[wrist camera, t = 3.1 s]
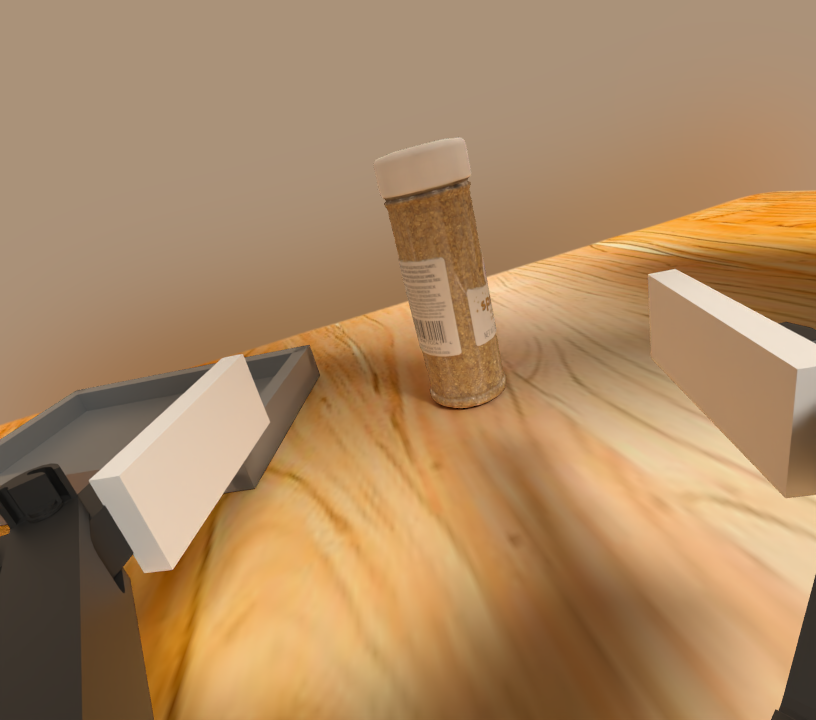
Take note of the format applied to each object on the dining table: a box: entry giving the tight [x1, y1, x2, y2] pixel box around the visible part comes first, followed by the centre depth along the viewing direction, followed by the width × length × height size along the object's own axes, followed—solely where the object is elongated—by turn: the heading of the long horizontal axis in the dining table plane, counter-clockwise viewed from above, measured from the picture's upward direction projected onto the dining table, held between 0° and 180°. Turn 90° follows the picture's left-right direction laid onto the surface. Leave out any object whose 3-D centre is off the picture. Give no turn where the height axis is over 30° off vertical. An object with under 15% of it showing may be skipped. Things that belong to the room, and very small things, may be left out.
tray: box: [0, 345, 320, 525], centre depth 31 cm, size 20×13×2 cm, turn 86°
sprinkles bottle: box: [374, 137, 506, 408], centre depth 25 cm, size 5×5×13 cm
